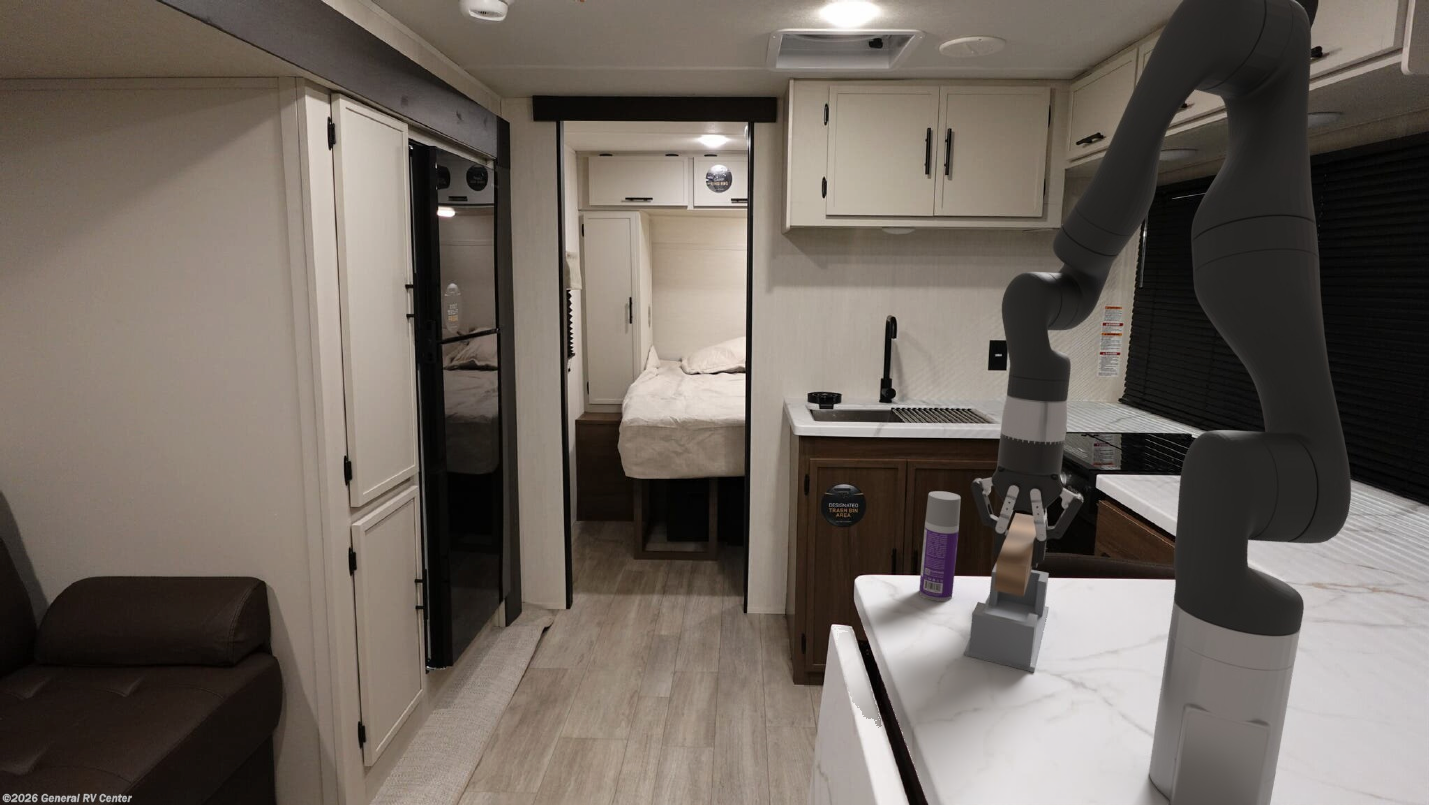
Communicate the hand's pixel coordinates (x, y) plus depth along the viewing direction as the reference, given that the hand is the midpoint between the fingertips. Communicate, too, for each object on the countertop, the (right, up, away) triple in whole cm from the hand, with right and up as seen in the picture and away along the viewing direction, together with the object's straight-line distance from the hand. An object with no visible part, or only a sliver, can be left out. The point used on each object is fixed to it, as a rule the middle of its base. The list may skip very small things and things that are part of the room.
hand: (1018, 561), depth 99 cm
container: (-7, -8, +12) cm, 16 cm away
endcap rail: (-1, -9, +1) cm, 10 cm away
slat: (0, -1, +1) cm, 1 cm away
